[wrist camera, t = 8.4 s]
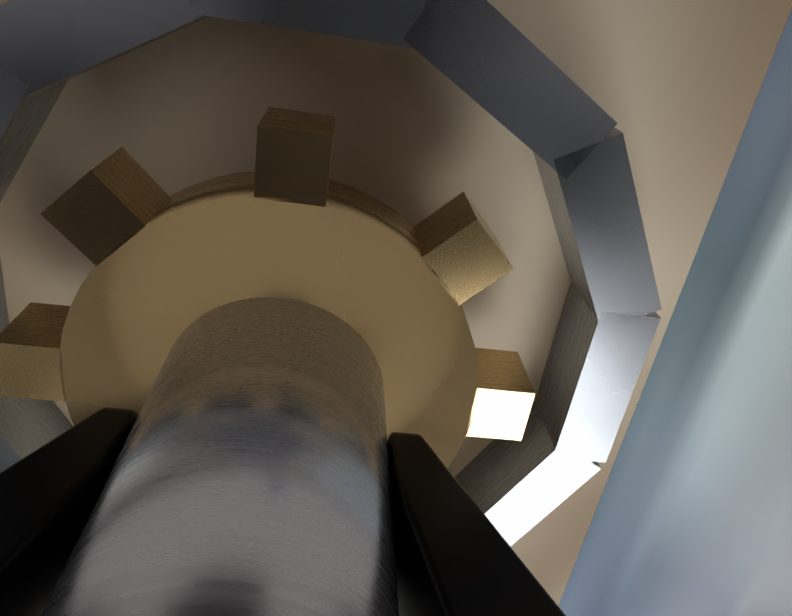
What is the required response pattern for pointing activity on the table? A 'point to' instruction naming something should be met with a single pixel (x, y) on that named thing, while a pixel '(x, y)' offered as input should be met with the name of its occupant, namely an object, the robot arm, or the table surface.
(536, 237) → the gear board
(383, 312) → the bronze gear
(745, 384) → the table surface
